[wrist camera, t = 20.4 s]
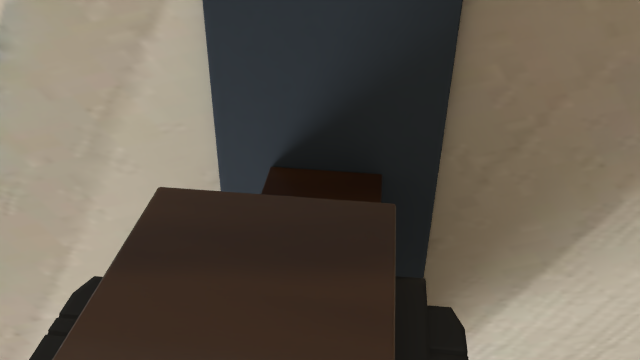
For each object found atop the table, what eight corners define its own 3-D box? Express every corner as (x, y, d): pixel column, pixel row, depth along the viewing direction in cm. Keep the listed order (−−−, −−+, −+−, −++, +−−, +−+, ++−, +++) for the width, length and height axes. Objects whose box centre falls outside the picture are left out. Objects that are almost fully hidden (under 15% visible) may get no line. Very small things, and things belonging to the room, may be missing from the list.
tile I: (270, 165, 24) (241, 246, 20) (382, 173, 24) (378, 256, 20) (273, 252, 27) (249, 340, 22) (375, 260, 26) (370, 352, 22)
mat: (202, -33, 21) (199, -30, 20) (464, -23, 20) (465, -20, 20) (238, 356, 32) (237, 361, 31) (408, 372, 31) (409, 379, 30)
